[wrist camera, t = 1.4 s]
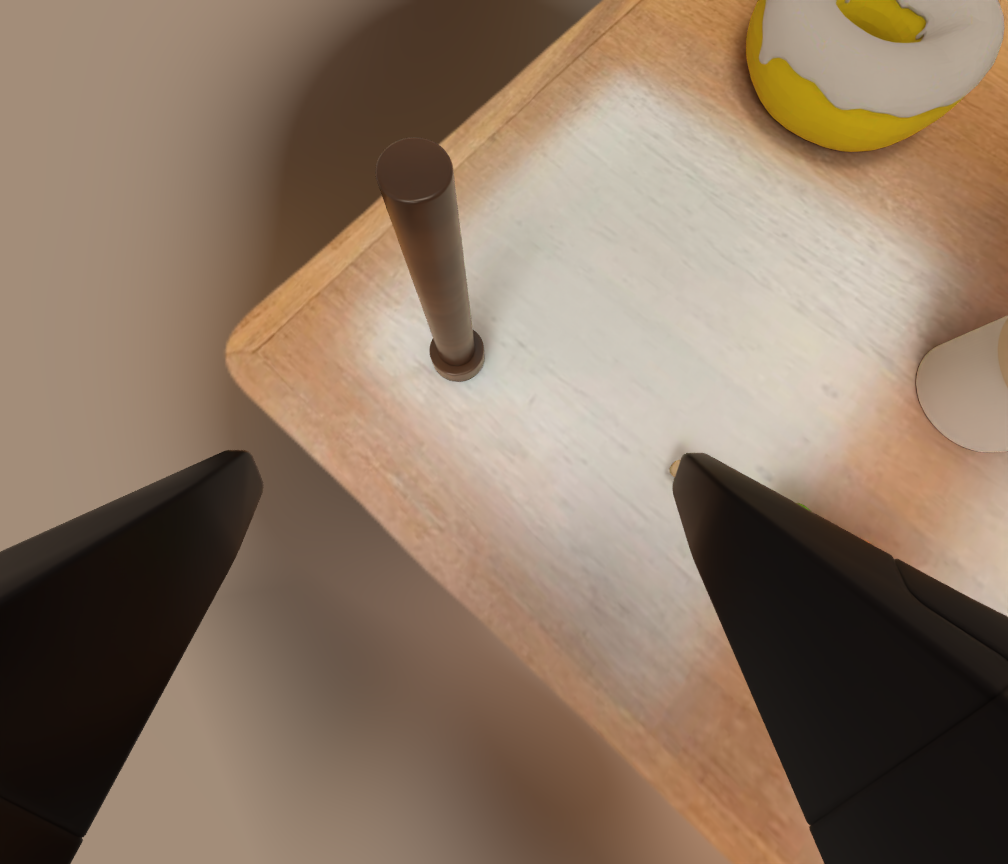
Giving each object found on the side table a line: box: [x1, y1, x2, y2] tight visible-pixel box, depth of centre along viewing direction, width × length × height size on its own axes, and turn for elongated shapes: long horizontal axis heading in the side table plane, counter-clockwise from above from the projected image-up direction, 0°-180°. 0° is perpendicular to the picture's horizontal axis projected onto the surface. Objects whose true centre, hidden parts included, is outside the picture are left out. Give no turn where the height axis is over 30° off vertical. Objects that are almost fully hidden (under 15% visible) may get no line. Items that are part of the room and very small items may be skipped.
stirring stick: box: [376, 137, 484, 382], centre depth 17 cm, size 3×3×13 cm
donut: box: [746, 0, 1004, 152], centre depth 25 cm, size 14×14×5 cm
